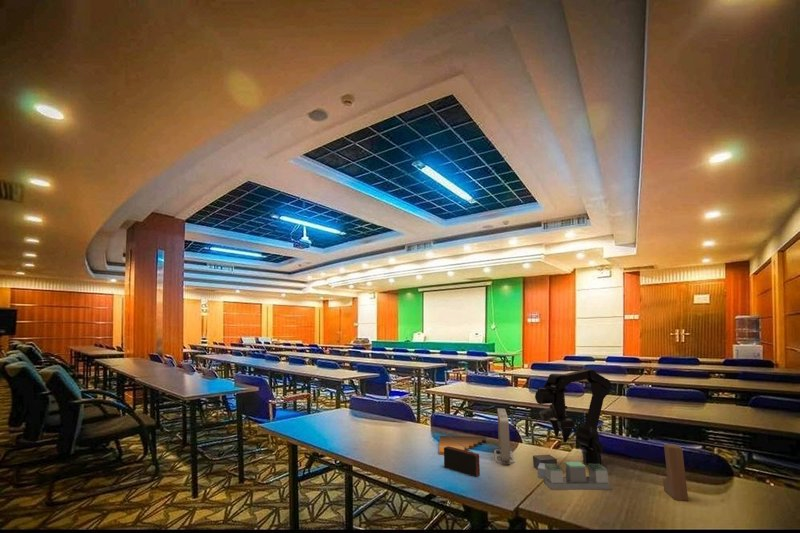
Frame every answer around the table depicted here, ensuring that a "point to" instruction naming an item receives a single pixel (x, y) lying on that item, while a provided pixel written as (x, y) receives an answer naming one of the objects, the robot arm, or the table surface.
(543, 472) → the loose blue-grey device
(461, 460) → the radio
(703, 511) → the table surface
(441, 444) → the pan flute
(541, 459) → the loose grey block
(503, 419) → the network device
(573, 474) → the block
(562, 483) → the rail
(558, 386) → the robot arm
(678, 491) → the wooden block
